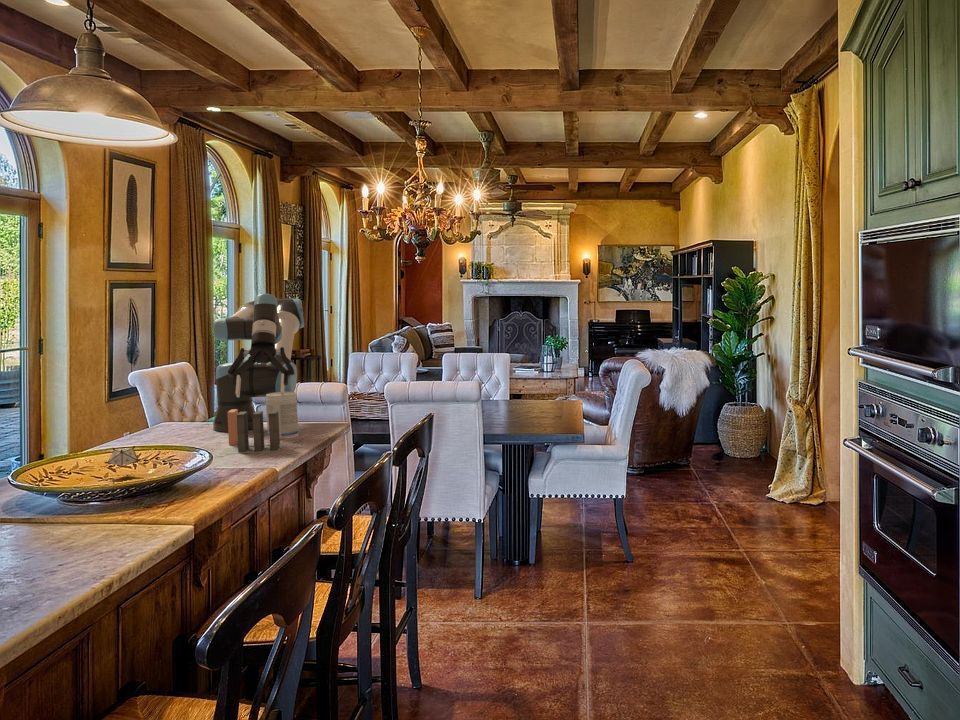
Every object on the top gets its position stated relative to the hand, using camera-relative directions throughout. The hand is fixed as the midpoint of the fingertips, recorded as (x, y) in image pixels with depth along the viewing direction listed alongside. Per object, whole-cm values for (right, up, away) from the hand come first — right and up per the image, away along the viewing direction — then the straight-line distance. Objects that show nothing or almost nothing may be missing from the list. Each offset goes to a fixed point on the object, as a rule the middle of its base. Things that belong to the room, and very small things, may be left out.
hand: (259, 394), depth 237 cm
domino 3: (+4, -16, -13) cm, 21 cm away
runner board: (+2, -17, -14) cm, 21 cm away
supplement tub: (+5, -15, +8) cm, 18 cm away
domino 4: (+8, -15, -13) cm, 22 cm away
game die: (-23, -20, -41) cm, 51 cm away
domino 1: (-7, -16, -3) cm, 17 cm away
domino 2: (-1, -16, -14) cm, 21 cm away
